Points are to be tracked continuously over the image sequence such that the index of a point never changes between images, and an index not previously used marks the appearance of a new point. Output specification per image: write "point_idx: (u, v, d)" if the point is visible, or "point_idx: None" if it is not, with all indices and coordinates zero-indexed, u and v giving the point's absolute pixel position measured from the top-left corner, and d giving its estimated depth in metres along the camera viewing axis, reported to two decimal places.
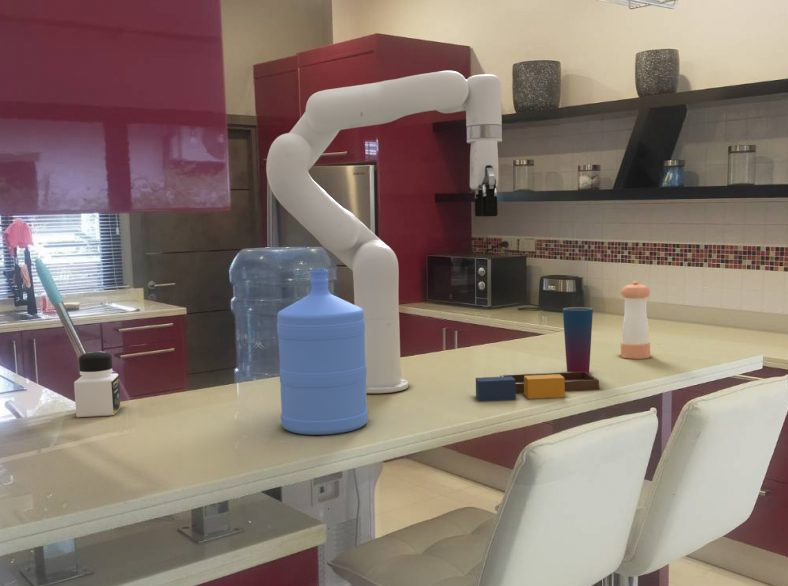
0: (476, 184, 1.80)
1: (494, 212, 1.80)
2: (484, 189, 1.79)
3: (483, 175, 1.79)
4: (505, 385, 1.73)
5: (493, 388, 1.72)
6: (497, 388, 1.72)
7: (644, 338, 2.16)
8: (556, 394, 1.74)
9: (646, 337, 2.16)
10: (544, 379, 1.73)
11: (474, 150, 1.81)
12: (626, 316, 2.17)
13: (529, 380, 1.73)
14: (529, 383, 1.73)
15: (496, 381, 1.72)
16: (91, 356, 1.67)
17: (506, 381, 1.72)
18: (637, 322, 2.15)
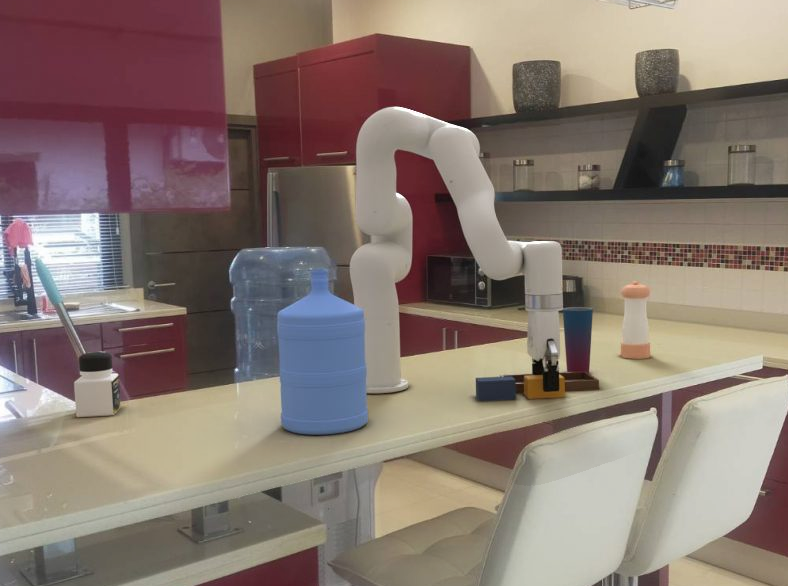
0: (537, 358, 1.70)
1: (556, 387, 1.70)
2: (545, 364, 1.69)
3: (544, 349, 1.69)
4: (505, 385, 1.73)
5: (493, 388, 1.72)
6: (497, 388, 1.72)
7: (644, 338, 2.16)
8: (556, 394, 1.74)
9: (646, 337, 2.16)
10: None
11: (534, 321, 1.71)
12: (626, 316, 2.17)
13: (529, 380, 1.73)
14: (529, 383, 1.73)
15: (496, 381, 1.72)
16: (91, 356, 1.67)
17: (506, 381, 1.72)
18: (637, 322, 2.15)
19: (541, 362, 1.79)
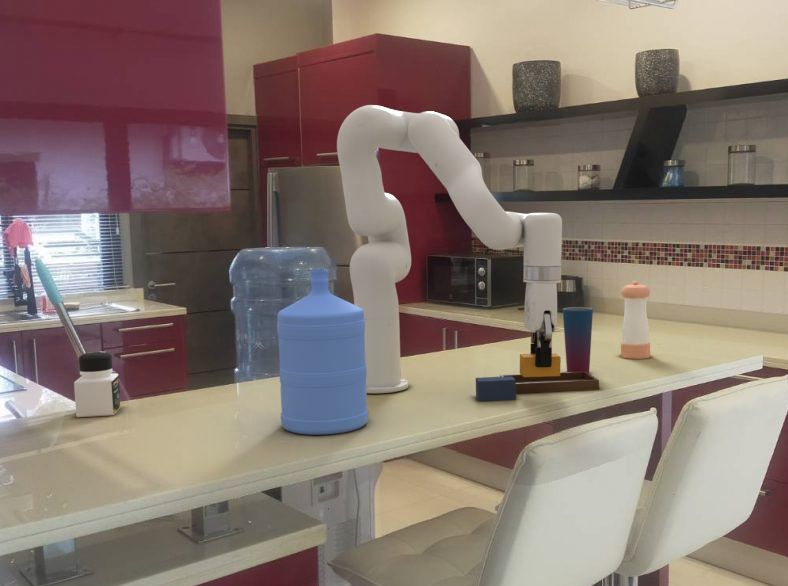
0: (533, 329, 1.69)
1: (548, 363, 1.72)
2: (539, 340, 1.71)
3: (541, 321, 1.69)
4: (505, 385, 1.73)
5: (493, 388, 1.72)
6: (497, 388, 1.72)
7: (644, 338, 2.16)
8: (552, 373, 1.73)
9: (646, 337, 2.16)
10: None
11: (532, 292, 1.70)
12: (626, 316, 2.17)
13: (525, 358, 1.73)
14: (525, 361, 1.73)
15: (496, 381, 1.72)
16: (91, 356, 1.67)
17: (506, 381, 1.72)
18: (637, 322, 2.15)
19: None
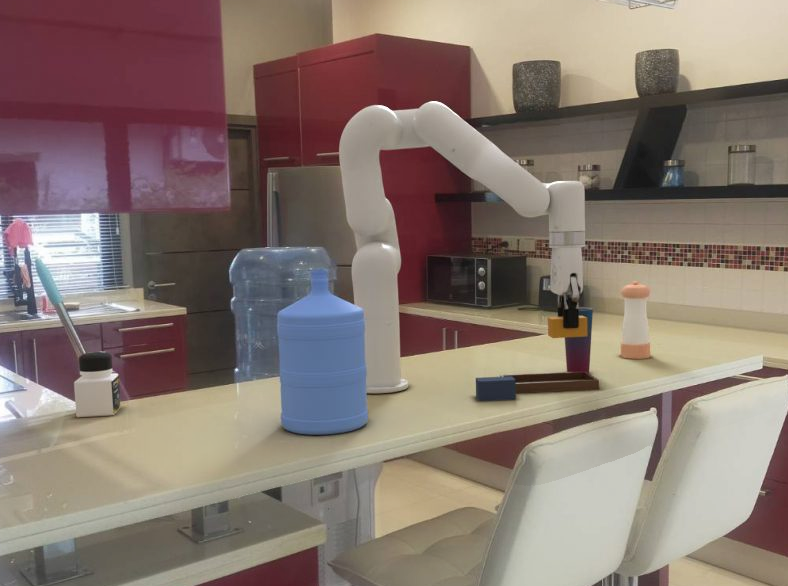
0: (560, 292, 1.78)
1: (575, 324, 1.81)
2: (566, 302, 1.79)
3: (568, 283, 1.77)
4: (505, 385, 1.73)
5: (493, 388, 1.72)
6: (497, 388, 1.72)
7: (644, 338, 2.16)
8: (580, 333, 1.82)
9: (646, 337, 2.16)
10: None
11: (558, 257, 1.79)
12: (626, 316, 2.17)
13: (553, 320, 1.81)
14: (553, 323, 1.81)
15: (496, 381, 1.72)
16: (91, 356, 1.67)
17: (506, 381, 1.72)
18: (637, 322, 2.15)
19: None
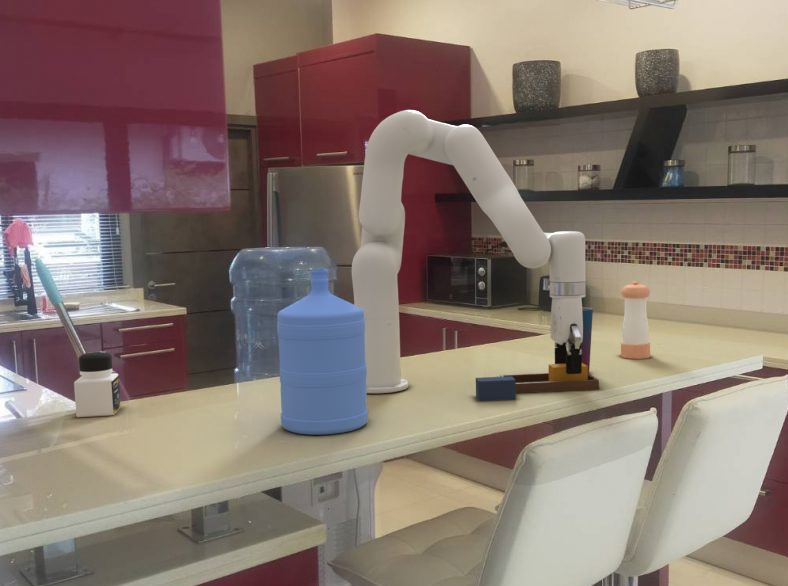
0: (560, 342, 1.79)
1: (578, 370, 1.80)
2: (569, 347, 1.79)
3: (568, 333, 1.79)
4: (505, 385, 1.73)
5: (493, 388, 1.72)
6: (497, 388, 1.72)
7: (644, 338, 2.16)
8: None
9: (646, 337, 2.16)
10: None
11: (558, 307, 1.80)
12: (626, 316, 2.17)
13: (554, 368, 1.82)
14: (554, 371, 1.82)
15: (496, 381, 1.72)
16: (91, 356, 1.67)
17: (506, 381, 1.72)
18: (637, 322, 2.15)
19: (563, 347, 1.89)
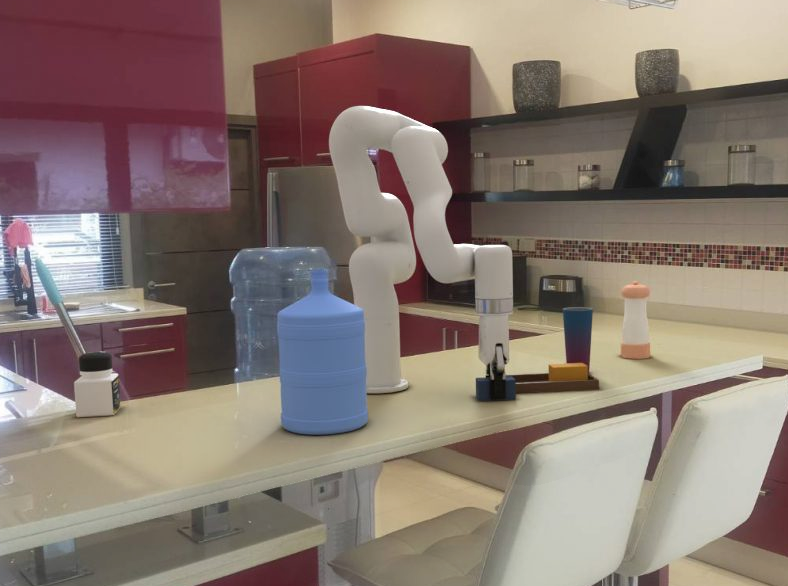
0: (485, 362, 1.69)
1: (502, 395, 1.72)
2: (492, 373, 1.70)
3: (493, 353, 1.68)
4: None
5: None
6: None
7: (644, 338, 2.16)
8: None
9: (646, 337, 2.16)
10: (568, 367, 1.83)
11: (483, 325, 1.70)
12: (626, 316, 2.17)
13: (554, 368, 1.82)
14: (554, 371, 1.82)
15: None
16: (91, 356, 1.67)
17: (506, 381, 1.72)
18: (637, 322, 2.15)
19: None
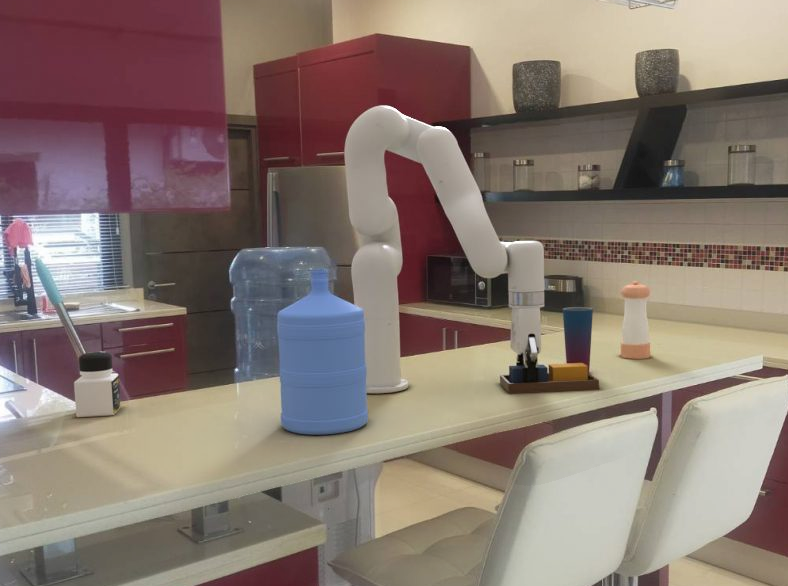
0: (519, 352, 1.79)
1: None
2: (526, 361, 1.79)
3: (526, 343, 1.78)
4: None
5: None
6: None
7: (644, 338, 2.16)
8: None
9: (646, 337, 2.16)
10: (568, 367, 1.83)
11: (517, 317, 1.79)
12: (626, 316, 2.17)
13: (554, 368, 1.82)
14: (554, 371, 1.82)
15: None
16: (91, 356, 1.67)
17: (538, 369, 1.82)
18: (637, 322, 2.15)
19: None
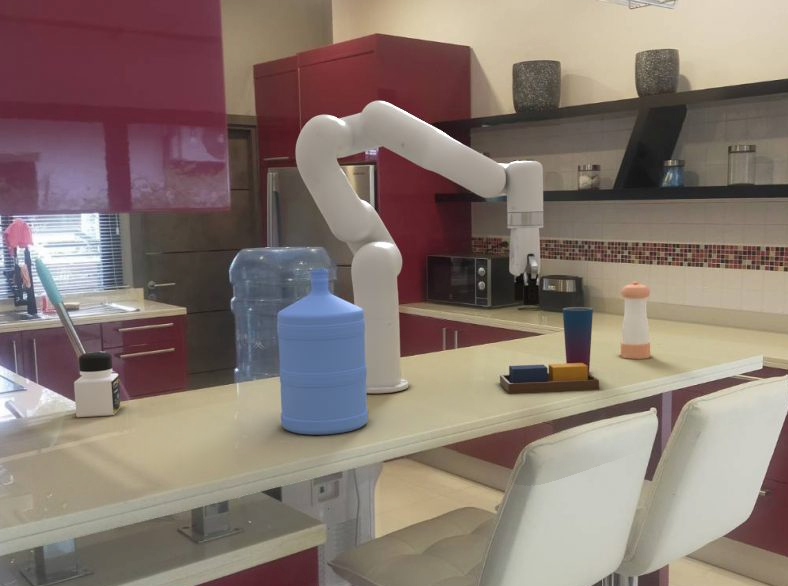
0: (517, 272, 1.77)
1: (536, 301, 1.77)
2: (526, 278, 1.76)
3: (525, 264, 1.76)
4: (537, 372, 1.82)
5: (526, 375, 1.82)
6: (530, 375, 1.82)
7: (644, 338, 2.16)
8: None
9: (646, 337, 2.16)
10: (568, 367, 1.83)
11: (515, 237, 1.77)
12: (626, 316, 2.17)
13: (554, 368, 1.82)
14: (554, 371, 1.82)
15: (529, 369, 1.82)
16: (91, 356, 1.67)
17: (538, 369, 1.82)
18: (637, 322, 2.15)
19: (523, 281, 1.86)
